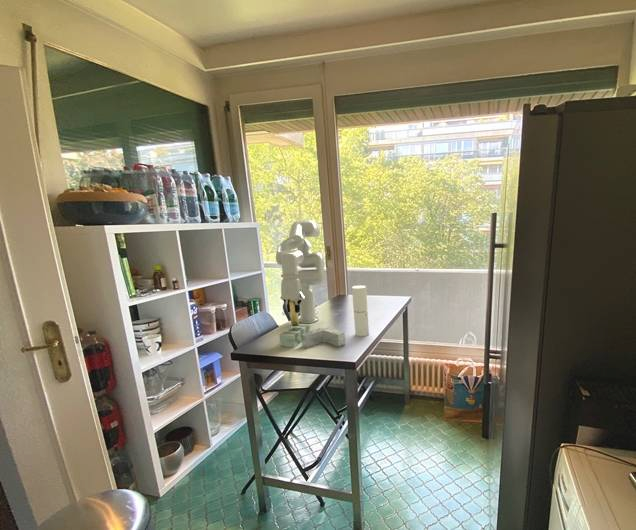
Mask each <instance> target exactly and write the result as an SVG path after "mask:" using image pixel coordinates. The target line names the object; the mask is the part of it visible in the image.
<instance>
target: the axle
mask: <svg viewBox="0 0 636 530" xmlns="http://www.w3.org/2000/svg"><path fill="white" fill-rule="evenodd" d="M295 305H296V303H295V300H290V301H289V308H290V312H289V317H290V325H291V327H292V326H293V327H295V326H299V324H300V322H299V312H298V313H296V311H295Z"/></svg>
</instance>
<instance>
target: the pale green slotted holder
mask: <svg viewBox="0 0 636 530" xmlns="http://www.w3.org/2000/svg"><path fill="white" fill-rule="evenodd" d="M309 331H312V330H311V323H299V326H295V327H293V326H291V327H289V328H288V329H286V330H284V331H283V332H281V333H280V334H279V335H278V336H279V343H280V344H279V345H280V347H283V346H285V348H293V347H295V348H296V347H298V344H299V345H300V344H302V341H301V334H303V333H306V332H309Z"/></svg>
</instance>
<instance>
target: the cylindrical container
mask: <svg viewBox="0 0 636 530" xmlns="http://www.w3.org/2000/svg"><path fill="white" fill-rule="evenodd" d="M351 291H352V293H351V294H352V303H353V304H352V305H353V318H354V319H353V320H354V321H353V322H354V333H355V334H354V335H355V336H357V337H367V336H368V335H370V328H369V327H370V325H369V313H368V297H367V286H366V285H353V286H352V287H351Z"/></svg>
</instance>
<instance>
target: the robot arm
mask: <svg viewBox="0 0 636 530" xmlns="http://www.w3.org/2000/svg"><path fill="white" fill-rule="evenodd" d="M320 233H321V227H320V225H319V223H318V222H316V221H315V220H312V219H306V220H297V221H294V222H293V223H292V224H291V227H290V231H289V235H288V237H287V238H286V239H284V240H283V241H282V242H281V243H279V245H278V247H277V249H276V253H275V254H276V255H275V261H276V263H277V264H278V265H279V266H281V271H282V274H280V278H282V280H281V285H280V292H281V293H280V295H281V296H280V300H282V301H283V302H284V304H285V305H286V309H287V313H290V308H289V301H290V300H295V303H296V305H295V311H296V313H298V314H299V315H300V317H298V319H299V323H300V322H301V323H300V324H312V323H316V322H318V321H319V319H320V318H319V317H318V316H317V314H319V312H318V310H316V301H315V292H314V289H313V288H312V287H311V286H321V285H323V284H324V283H325V263H324V261H325V260H324V256H323V254H322V252H319V251H314V252H312V244H311V242H310V241H309V240H308V239H306V238H315V237H318V236H319V235H320ZM298 267H299V268H301V269H302V270H298Z"/></svg>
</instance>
